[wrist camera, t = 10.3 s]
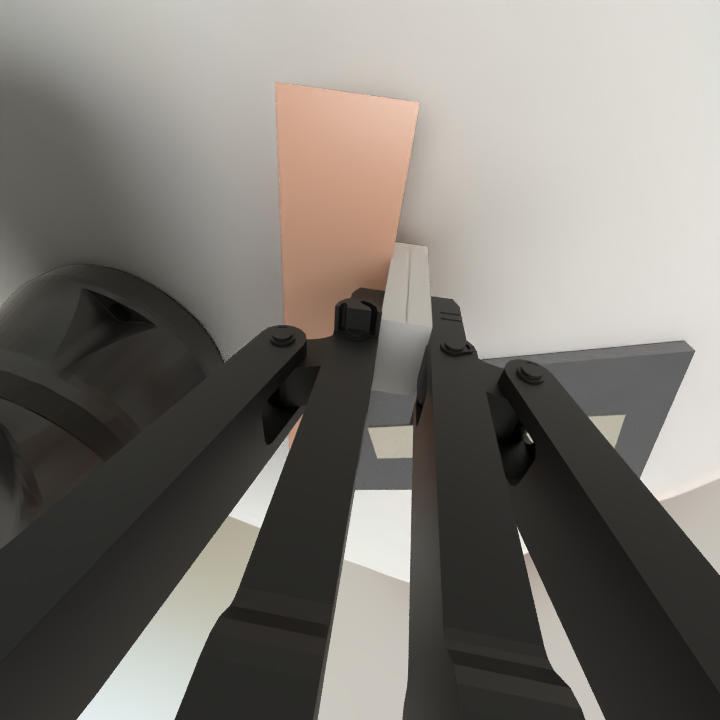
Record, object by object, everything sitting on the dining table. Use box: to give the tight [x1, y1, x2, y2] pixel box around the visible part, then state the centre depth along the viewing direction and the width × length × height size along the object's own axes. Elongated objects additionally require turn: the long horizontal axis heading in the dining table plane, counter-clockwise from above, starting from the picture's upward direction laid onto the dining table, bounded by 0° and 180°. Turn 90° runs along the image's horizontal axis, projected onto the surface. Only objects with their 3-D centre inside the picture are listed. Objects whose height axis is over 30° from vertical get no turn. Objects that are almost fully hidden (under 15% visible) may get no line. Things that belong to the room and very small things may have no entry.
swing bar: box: [275, 82, 420, 451], centre depth 19 cm, size 26×4×3 cm, turn 173°
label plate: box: [355, 341, 695, 490], centre depth 26 cm, size 26×14×4 cm, turn 103°
